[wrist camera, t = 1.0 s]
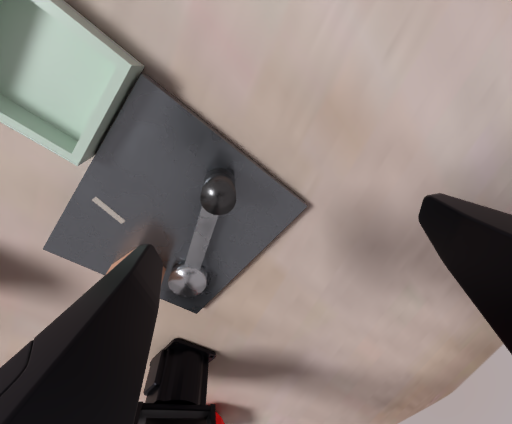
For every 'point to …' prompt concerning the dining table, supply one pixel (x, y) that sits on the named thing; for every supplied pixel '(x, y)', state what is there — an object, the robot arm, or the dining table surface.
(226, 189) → the crank
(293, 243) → the dining table surface
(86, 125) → the tray
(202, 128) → the base plate
